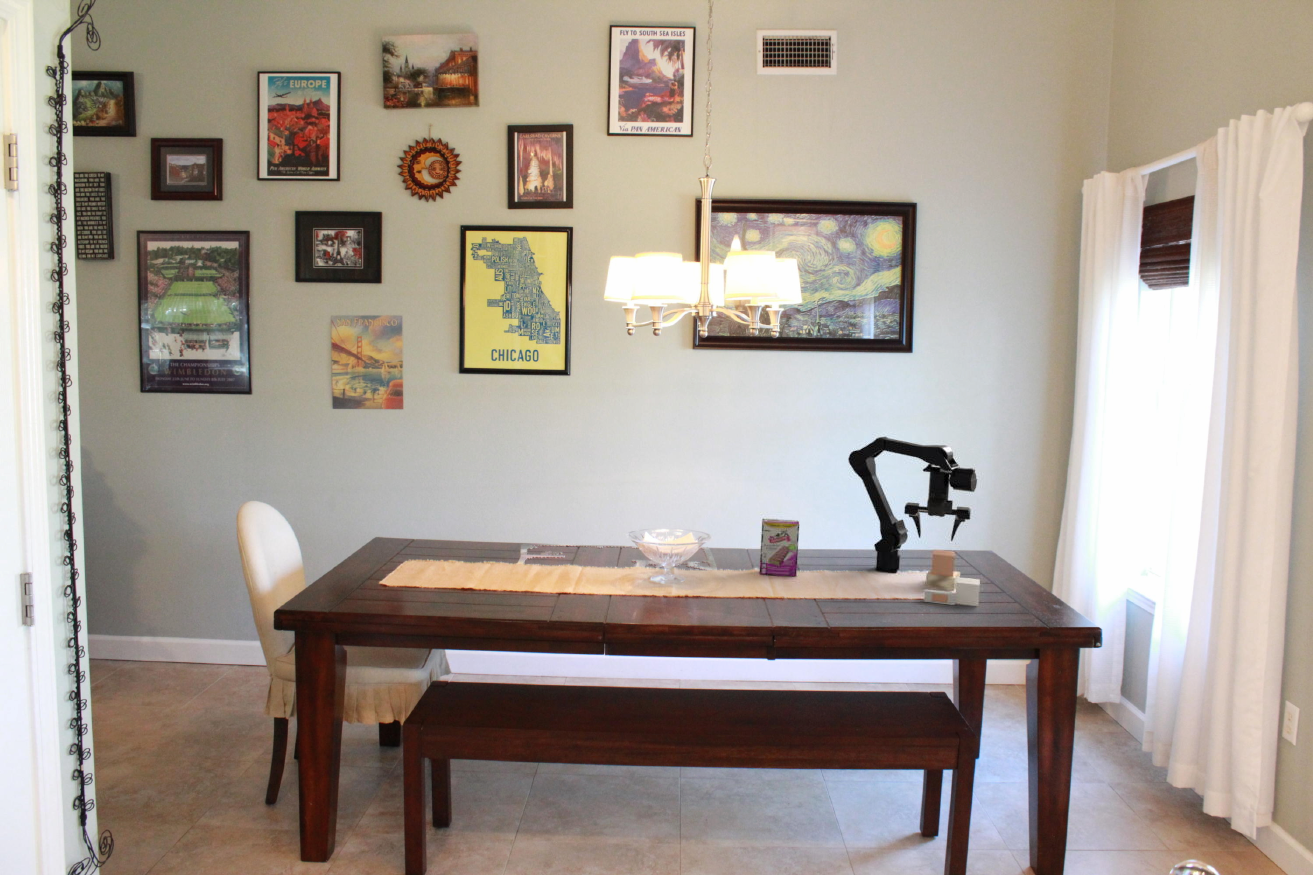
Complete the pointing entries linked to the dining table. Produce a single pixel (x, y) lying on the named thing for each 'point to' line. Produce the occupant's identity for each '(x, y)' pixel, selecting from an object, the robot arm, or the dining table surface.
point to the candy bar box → (779, 547)
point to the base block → (942, 581)
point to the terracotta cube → (943, 563)
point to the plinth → (939, 597)
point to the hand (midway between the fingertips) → (935, 539)
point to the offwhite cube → (967, 591)
